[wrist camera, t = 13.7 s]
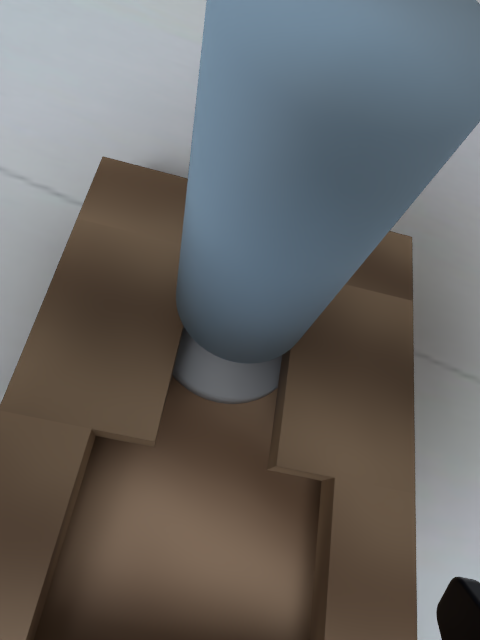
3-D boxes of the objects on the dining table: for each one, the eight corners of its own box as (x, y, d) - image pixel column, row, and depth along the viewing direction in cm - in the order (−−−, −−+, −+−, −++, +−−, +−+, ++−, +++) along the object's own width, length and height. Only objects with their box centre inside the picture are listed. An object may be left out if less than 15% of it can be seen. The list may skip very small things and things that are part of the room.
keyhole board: (351, 848, 13) (420, 960, 10) (-104, 795, 12) (-207, 905, 9) (371, 281, 22) (412, 236, 19) (110, 216, 21) (102, 156, 17)
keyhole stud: (321, 378, 18) (616, 134, 7) (182, 424, 17) (255, 202, 5) (268, 258, 20) (426, -93, 9) (139, 287, 19) (118, -104, 7)
